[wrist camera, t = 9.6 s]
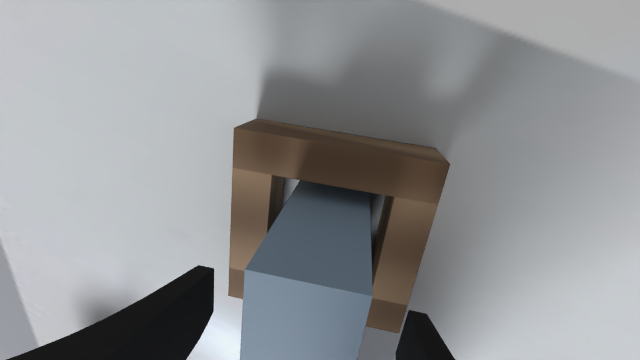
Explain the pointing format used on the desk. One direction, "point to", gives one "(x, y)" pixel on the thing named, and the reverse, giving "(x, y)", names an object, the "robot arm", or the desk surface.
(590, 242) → the desk surface
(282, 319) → the slate-blue peg
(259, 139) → the walnut collar
